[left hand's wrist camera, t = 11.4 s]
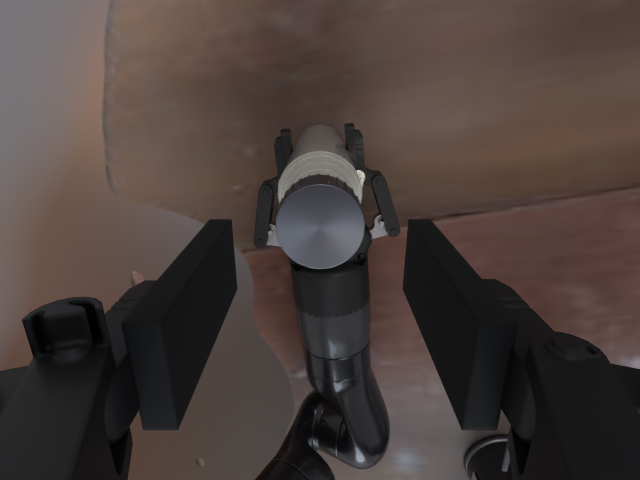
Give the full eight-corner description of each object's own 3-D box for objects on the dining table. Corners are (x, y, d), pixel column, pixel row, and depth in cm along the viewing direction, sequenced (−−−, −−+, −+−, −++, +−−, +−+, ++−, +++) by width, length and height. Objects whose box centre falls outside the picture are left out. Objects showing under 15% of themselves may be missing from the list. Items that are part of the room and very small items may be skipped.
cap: (345, 261, 20) (348, 280, 18) (269, 238, 19) (263, 256, 17) (372, 187, 18) (379, 199, 16) (291, 161, 18) (288, 170, 16)
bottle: (334, 177, 42) (354, 287, 18) (291, 163, 41) (252, 259, 18) (349, 132, 40) (391, 190, 17) (304, 117, 40) (281, 155, 16)
